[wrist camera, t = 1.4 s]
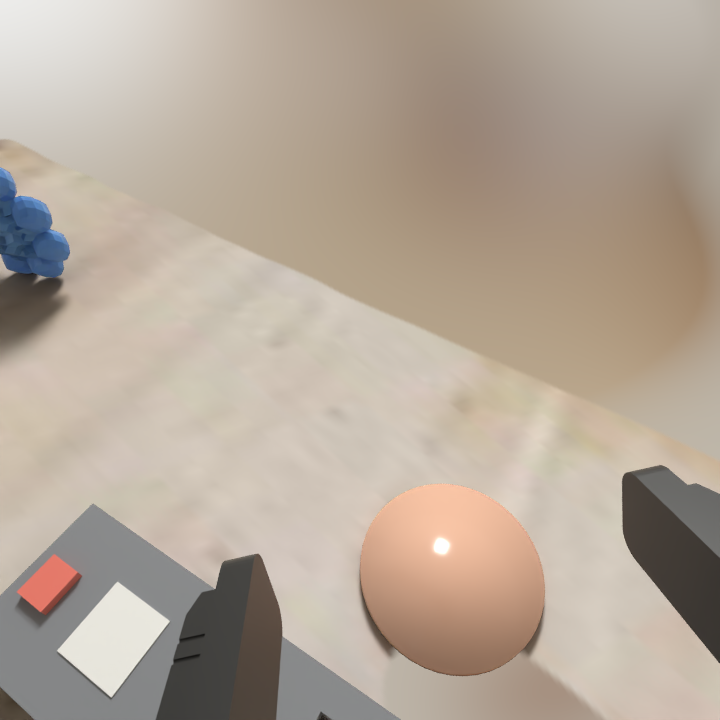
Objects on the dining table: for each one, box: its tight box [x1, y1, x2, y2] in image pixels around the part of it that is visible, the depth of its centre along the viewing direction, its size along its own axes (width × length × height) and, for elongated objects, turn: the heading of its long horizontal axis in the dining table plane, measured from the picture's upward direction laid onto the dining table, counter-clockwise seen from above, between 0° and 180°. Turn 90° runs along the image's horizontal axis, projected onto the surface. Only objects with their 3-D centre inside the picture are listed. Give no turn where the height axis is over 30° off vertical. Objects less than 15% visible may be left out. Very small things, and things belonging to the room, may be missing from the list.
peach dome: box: [360, 484, 545, 676], centre depth 30 cm, size 11×11×1 cm
